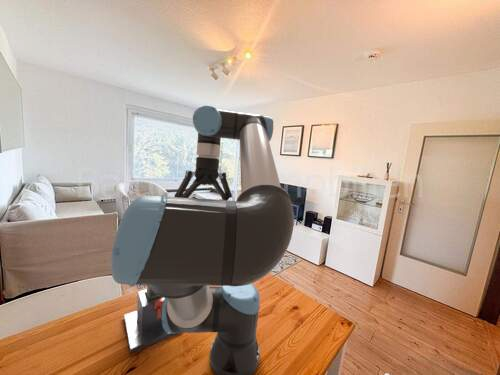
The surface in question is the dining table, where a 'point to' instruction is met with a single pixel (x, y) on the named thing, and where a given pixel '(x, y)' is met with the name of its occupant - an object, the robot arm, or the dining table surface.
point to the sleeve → (145, 323)
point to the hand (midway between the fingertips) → (203, 218)
